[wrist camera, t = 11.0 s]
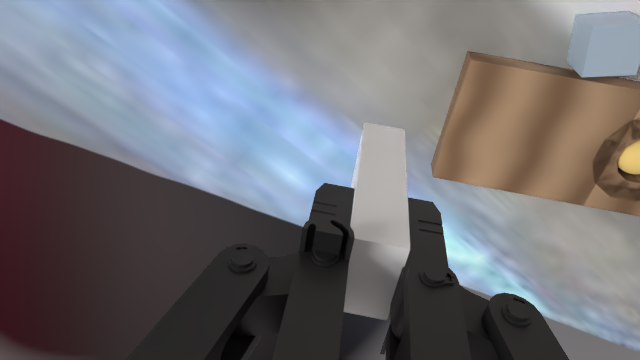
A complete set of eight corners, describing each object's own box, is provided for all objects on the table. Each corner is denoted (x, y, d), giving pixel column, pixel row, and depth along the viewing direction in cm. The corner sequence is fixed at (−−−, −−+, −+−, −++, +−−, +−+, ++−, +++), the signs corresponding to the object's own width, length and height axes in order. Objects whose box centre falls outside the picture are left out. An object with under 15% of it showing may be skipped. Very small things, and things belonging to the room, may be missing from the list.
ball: (619, 131, 41) (664, 145, 38) (627, 130, 43) (670, 142, 41) (603, 167, 42) (646, 182, 40) (612, 164, 44) (652, 177, 42)
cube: (575, 14, 37) (592, 26, 34) (628, 10, 37) (651, 23, 33) (566, 61, 40) (581, 77, 36) (615, 58, 39) (636, 75, 36)
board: (431, 164, 47) (432, 177, 45) (467, 51, 40) (471, 60, 38) (684, 211, 46) (698, 227, 44) (765, 104, 39) (785, 116, 37)
